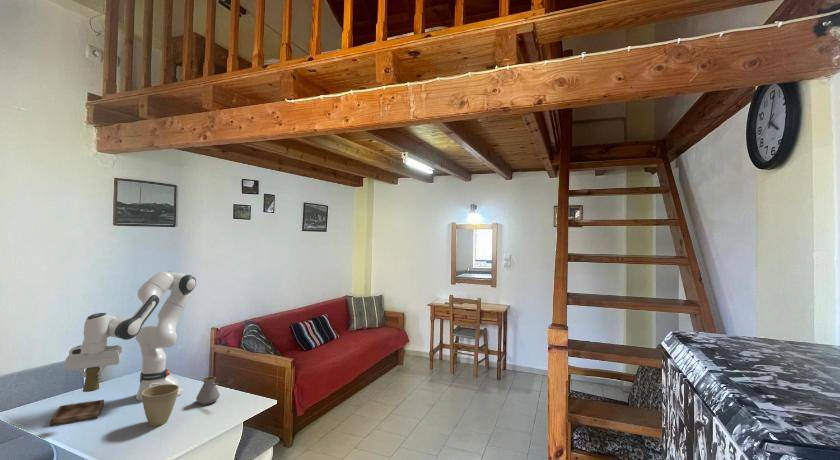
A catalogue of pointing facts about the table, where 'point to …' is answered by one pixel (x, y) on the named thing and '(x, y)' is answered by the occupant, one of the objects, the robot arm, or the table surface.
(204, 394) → the coffee pot
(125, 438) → the table surface
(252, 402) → the table surface
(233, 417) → the table surface
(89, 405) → the walnut tray
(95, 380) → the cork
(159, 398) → the plant pot
